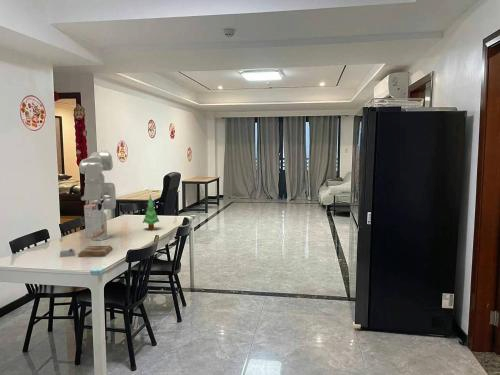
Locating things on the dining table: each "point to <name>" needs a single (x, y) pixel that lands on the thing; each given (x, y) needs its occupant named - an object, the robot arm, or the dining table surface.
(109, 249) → the plinth
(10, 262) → the dining table surface
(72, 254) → the bracket
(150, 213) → the decorative tree
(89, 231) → the cracker box
